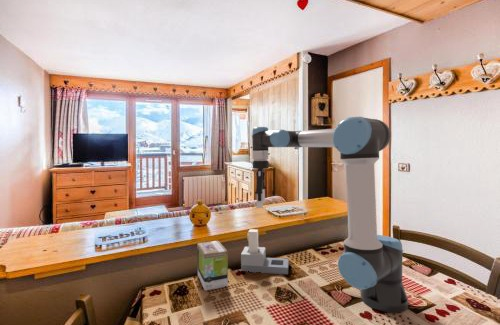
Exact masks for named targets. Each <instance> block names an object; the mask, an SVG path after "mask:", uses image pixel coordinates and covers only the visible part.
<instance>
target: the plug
mask: <svg viewBox="0 0 500 325" xmlns="http://www.w3.org/2000/svg"><path fill="white" fill-rule="evenodd" d="M246 241H248V247H249V253H258V247H259V229H254V228H253V229H252V228H250V229H249V230H248V231H247V234H246Z"/></svg>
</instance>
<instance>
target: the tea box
mask: <svg viewBox="0 0 500 325" xmlns="http://www.w3.org/2000/svg"><path fill="white" fill-rule="evenodd" d="M196 247H197V248H196V250H197V251H196V252H197V254H196V255H197V258H196V259H197V278H199V280H200V284H201V286H202V287H203V288H202V289H203V290H204V291H211V290H215V289H220V288H221V289H222V288H225V286H226V287H228V284H229V280H228V279H229V278H228V277H229V276H228V272H229V270H228V267H229V266H228V265H229V264H228V262H229V261H228V260H229V259H228V258H229V255H228V250H227V248H225V246H224V245H223V244H222V243H221V242H220V241H219V240H213V241H212V240H211V241H205V242H204V241H203V242H198V243H197V246H196Z"/></svg>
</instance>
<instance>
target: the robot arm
mask: <svg viewBox="0 0 500 325" xmlns="http://www.w3.org/2000/svg"><path fill="white" fill-rule="evenodd" d="M391 133H392V132H391V129H390V127H389V126H388V124H386V123H385V122H384V121H382V120H381V119H377V118H376V119H375V118H368V117H363V116H351V117H347V118H344V119H343V120H341V121H340V122H339V123H338V124H337V125H336V127H335V128H325V129H311V130H309V129H308V130H285V129H274V130H273V129H272V130H269V128H268V127H267V126H258V127H257V126H255V127H253V128H252V133H251V134H252V135H251V138H252V142H251V143H252V153H251V155H252V169H254V170H257V171H256V174H255V175H256V176H255V177H256V178H255V179H256V187H255V188H256V189H255V191H254V195H255V194H256V209H264V203H265V202H266V190H267V186H266V182H265V180H266V172H265V170H266V169H267V170H268V169H270V168H269V166H270V165H269V163H270V162H269V156H270V154H271V153H270V152H269V148H335V149H336V150H337V151H338V152H339V155H340V161H341V162H342V163H343V164H344V165H345V180H346V181H345V183H346V184H345V186H346V204H347V206H346V208H347V231H348V234H347V235H348V236H347V238H346V239H344V241H343V251H344V252H343V253H342V254H341V255H340V256H339V258H338V261H337V267H338V271H339V274H340V276H341V277H342V278H343V279H344V280H345V282H346V283H347V285H348V284H349V285H350V287H353V288H355V289H358V290H360V298H361V300H362V302H363V303H364V304H365V305H367V306H369V308H372V309H374V310H377V311H381V312H385V313H392V314H397V313H398V314H399V313H403V312H405V311H406V310H407V309H408V308H409V299H408V295H407V293H406V290H405V288H404V287H405V286H404V284H403V254H404V253H403V252H404V249H403V243H402V241H401V240H400V239H397V238H395V237H391V236H387V235H381V234H378V231H377V229H378V228H377V226H378V225H377V204H376V202H377V200H376V176H375V174H376V173H375V171H376V170H375V163H376V162H378V160H379V159H380V152H381V151H383V150H384V149H385V148H386V147H388V146H389V144H390V141H391V137H392V134H391Z"/></svg>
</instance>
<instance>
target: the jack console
mask: <svg viewBox="0 0 500 325" xmlns="http://www.w3.org/2000/svg"><path fill="white" fill-rule="evenodd" d="M266 255H267V254H266V247H264V246H258V253H249V246H244V247H243V250H242V251H241V253H240V266H241V267H240V271H247V272H246V273H256V272H261V274H274V275H278V274H279V275H288V274H289V264H290V262H289V258H284V257H282V258H281V257H279V258H278V257H266ZM248 271H249V272H248Z"/></svg>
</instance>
